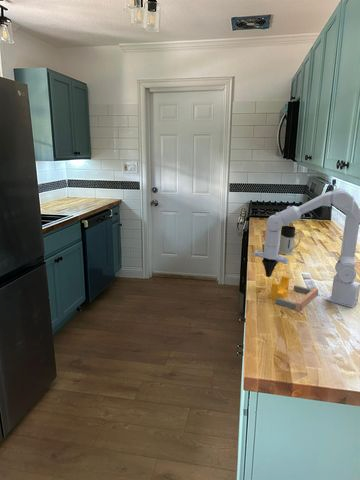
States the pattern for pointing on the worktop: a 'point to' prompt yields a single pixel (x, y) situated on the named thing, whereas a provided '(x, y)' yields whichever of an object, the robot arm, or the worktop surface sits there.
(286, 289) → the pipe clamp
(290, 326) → the worktop surface
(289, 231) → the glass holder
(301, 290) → the stop frame
